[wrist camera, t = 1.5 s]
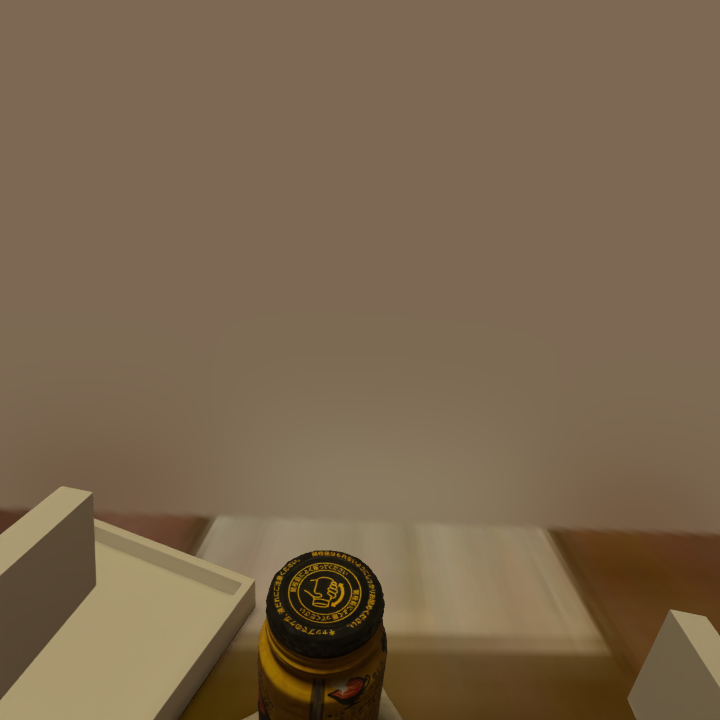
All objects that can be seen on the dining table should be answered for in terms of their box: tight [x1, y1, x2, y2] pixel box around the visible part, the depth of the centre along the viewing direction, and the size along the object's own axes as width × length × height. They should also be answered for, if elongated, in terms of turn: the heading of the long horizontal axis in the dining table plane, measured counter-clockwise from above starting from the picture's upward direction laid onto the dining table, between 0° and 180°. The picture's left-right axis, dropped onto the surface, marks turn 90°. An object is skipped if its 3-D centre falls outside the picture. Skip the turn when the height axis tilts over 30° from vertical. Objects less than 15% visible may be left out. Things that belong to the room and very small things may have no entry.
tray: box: [0, 519, 255, 720], centre depth 29 cm, size 15×14×2 cm
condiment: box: [243, 550, 403, 720], centre depth 23 cm, size 7×8×12 cm
